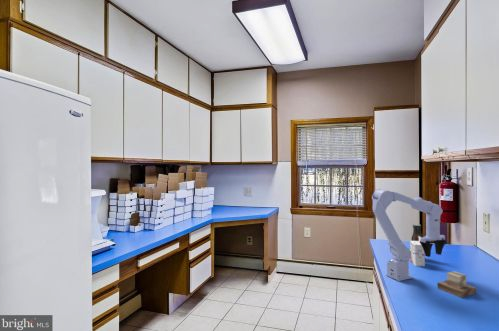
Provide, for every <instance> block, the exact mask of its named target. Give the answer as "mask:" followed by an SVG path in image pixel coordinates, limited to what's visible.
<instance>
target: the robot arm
mask: <svg viewBox="0 0 499 331" xmlns="http://www.w3.org/2000/svg"><path fill="white" fill-rule="evenodd" d="M371 199H372V213H373V214H374V216H375V218H376V220H377V221H378V224H379V225H380V227H381V229H382V231H383V233H384V234H385V236H386V239H387V240H388V246H389V251H390V253H391V259H389V260H388V261H387V263H386V269H387V270H386V273H387V274H386V273H385V276H387V277H389V278H391V279H393V280H396V281H399V282H400V281H405V280H411V279H413V278H414V276H412V275H409V274H410V273H409V272H410V271H409V268H410V266H409V264H410V262H409V260H410V258H411V251H410V248H408V246H406V244H405V243H404V241H402V239H401V238H400V236H399V235H398V233H397V231H396V229H395V227H394V225H393V223H392V221H391V220H390V218H389V215H388V213H387V211H386V210H387V208H388V207H389V206H390V205H391V204H392V202H394V203H395V202H396V201H397V202H401V203H404V204H407V205H409V206H410V207H411V209H413V210H416V211H419V212H422V213H425V227H426V228H425V236H423V237H422V238H421V241H420V244H421V245H422V247H423V249H424V253H425V256H426V257H427V258H430V257H431V254H432V247H433V245H434V249H435V254H436V255H439V256H441V255H442V252H443V249H444V247H445V246H446V243H447V240H446V235H444V234H441V215H442V214H443V211H444V210H443V209H442V207H441V206H440V204H436V203H433V202H432V201H430V200H428V201H427V200H425V199H423V198H422V197H419V196H418V197H414V198H411V197H409V196H406V195H404V194H401V193H399V192H396V191H390V190H385V189H380V188H378V189H376V190H374V192H373V194H372V196H371ZM431 242H433V243H431Z"/></svg>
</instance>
